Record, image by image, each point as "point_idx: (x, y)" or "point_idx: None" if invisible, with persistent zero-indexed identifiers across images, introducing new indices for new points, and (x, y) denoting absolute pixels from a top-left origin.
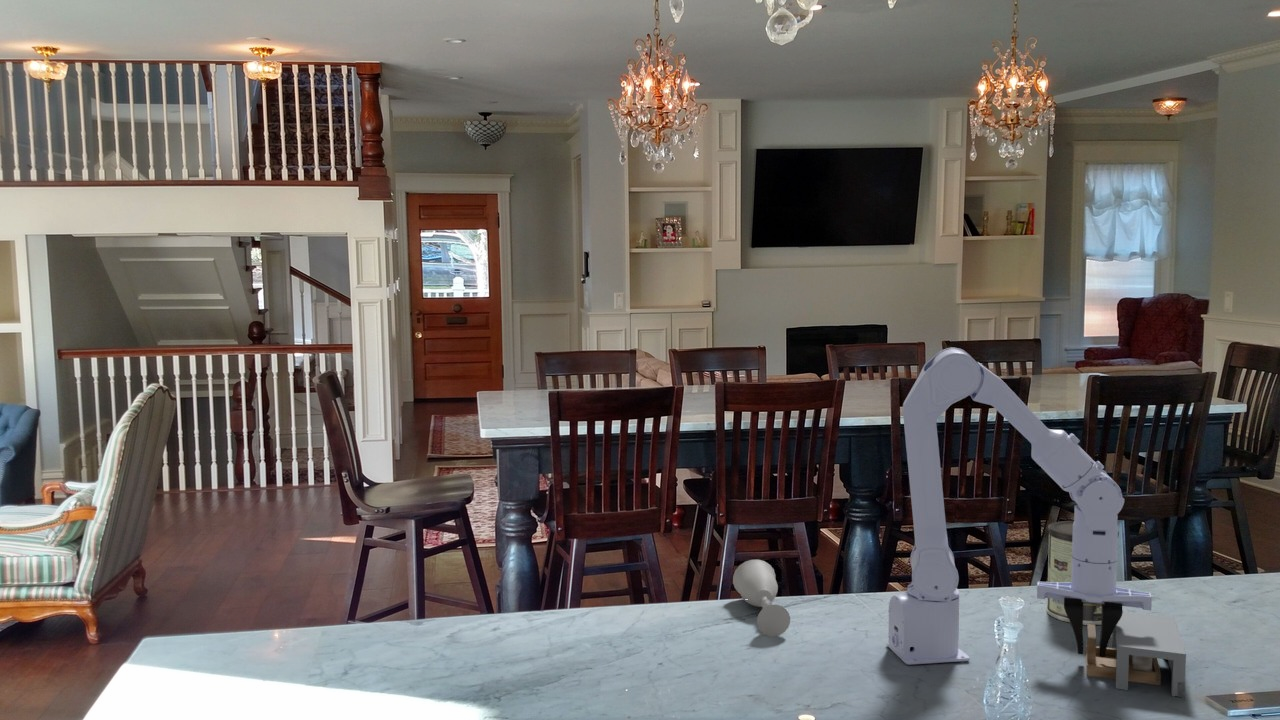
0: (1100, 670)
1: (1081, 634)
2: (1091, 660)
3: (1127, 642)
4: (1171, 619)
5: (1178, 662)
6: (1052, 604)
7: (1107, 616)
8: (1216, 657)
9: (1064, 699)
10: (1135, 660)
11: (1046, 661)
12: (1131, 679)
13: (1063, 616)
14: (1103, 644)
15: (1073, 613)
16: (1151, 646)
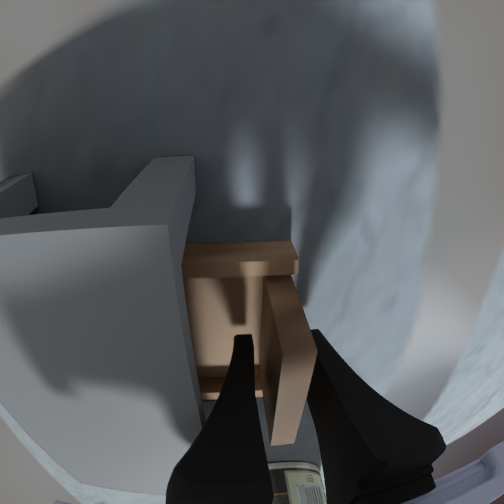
0: (249, 254)
1: (334, 378)
2: (282, 290)
3: (118, 308)
4: (78, 476)
5: None
6: (319, 482)
7: (243, 471)
8: None
9: (374, 6)
10: None
11: (387, 299)
12: None
13: (301, 468)
14: (244, 364)
15: (411, 436)
16: (9, 289)
